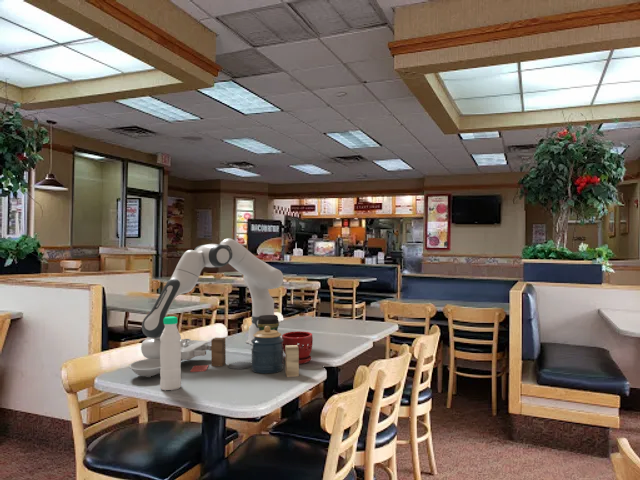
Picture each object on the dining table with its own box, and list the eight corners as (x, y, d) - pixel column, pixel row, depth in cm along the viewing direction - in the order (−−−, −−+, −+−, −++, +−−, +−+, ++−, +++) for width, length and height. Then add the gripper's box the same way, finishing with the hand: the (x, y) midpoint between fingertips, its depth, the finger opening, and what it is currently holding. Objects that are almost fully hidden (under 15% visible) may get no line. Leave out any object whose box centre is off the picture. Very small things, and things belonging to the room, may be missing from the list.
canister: (250, 366, 198) (250, 323, 198) (281, 364, 201) (281, 322, 201) (252, 375, 185) (252, 329, 185) (285, 372, 188) (285, 327, 188)
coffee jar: (278, 353, 222) (278, 313, 222) (280, 357, 214) (279, 315, 214) (257, 354, 220) (257, 314, 220) (258, 358, 212) (257, 316, 212)
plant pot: (282, 358, 212) (282, 331, 212) (311, 357, 213) (311, 330, 213) (281, 366, 199) (281, 337, 199) (313, 365, 200) (313, 336, 200)
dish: (132, 372, 191) (132, 359, 191) (170, 369, 194) (170, 357, 194) (125, 384, 173) (125, 370, 174) (167, 381, 177) (167, 368, 177)
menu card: (193, 367, 200) (193, 365, 200) (208, 367, 200) (208, 365, 200) (190, 373, 191) (190, 371, 191) (205, 372, 191) (205, 370, 191)
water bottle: (164, 385, 172) (164, 315, 173) (183, 385, 172) (183, 315, 172) (157, 391, 165) (156, 318, 166) (177, 391, 165) (177, 318, 165)
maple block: (285, 373, 186) (285, 345, 187) (296, 373, 187) (296, 344, 188) (287, 376, 182) (286, 347, 182) (298, 376, 183) (298, 347, 183)
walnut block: (215, 363, 204) (215, 337, 204) (225, 363, 203) (225, 337, 204) (211, 366, 200) (211, 339, 200) (221, 366, 199) (221, 339, 199)
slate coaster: (233, 362, 205) (233, 361, 205) (255, 363, 203) (255, 362, 203) (225, 368, 195) (225, 367, 195) (248, 369, 193) (248, 368, 193)
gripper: (167, 347, 194) (200, 348, 192) (188, 337, 214) (218, 338, 212) (167, 363, 194) (200, 364, 192) (188, 352, 214) (218, 352, 212)
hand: (209, 350), depth 202 cm, fingers open, 8 cm apart
